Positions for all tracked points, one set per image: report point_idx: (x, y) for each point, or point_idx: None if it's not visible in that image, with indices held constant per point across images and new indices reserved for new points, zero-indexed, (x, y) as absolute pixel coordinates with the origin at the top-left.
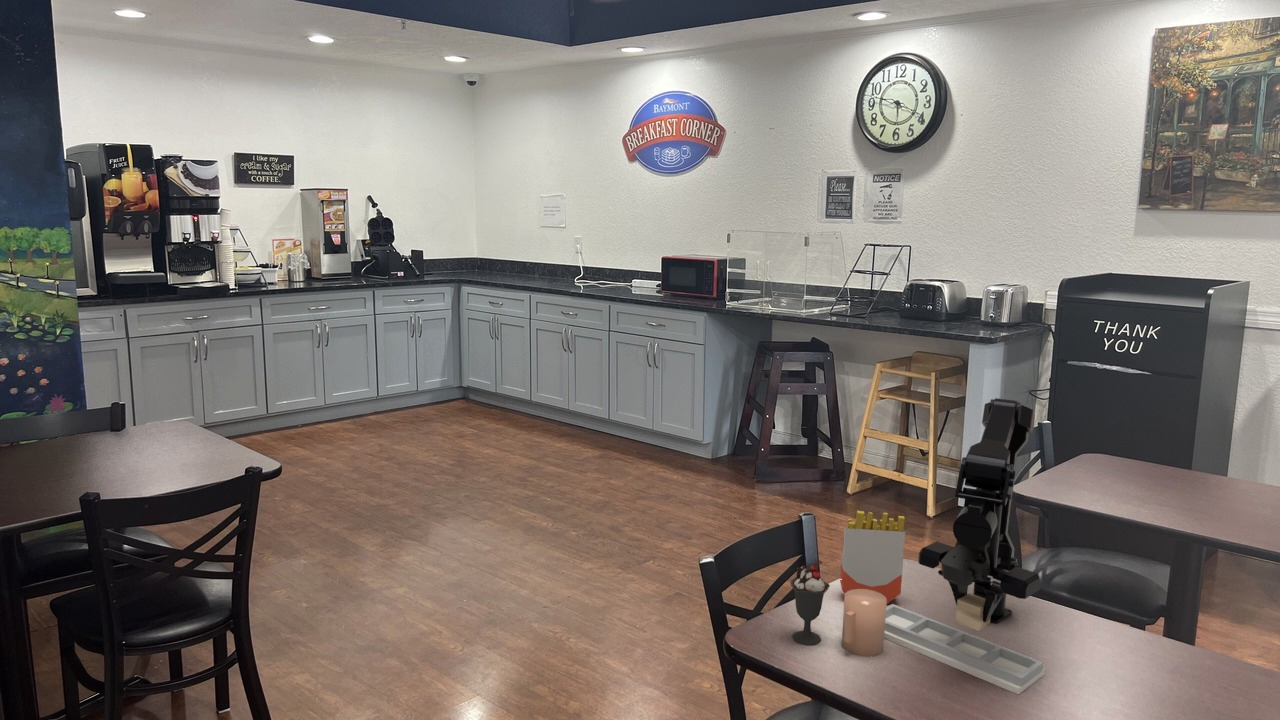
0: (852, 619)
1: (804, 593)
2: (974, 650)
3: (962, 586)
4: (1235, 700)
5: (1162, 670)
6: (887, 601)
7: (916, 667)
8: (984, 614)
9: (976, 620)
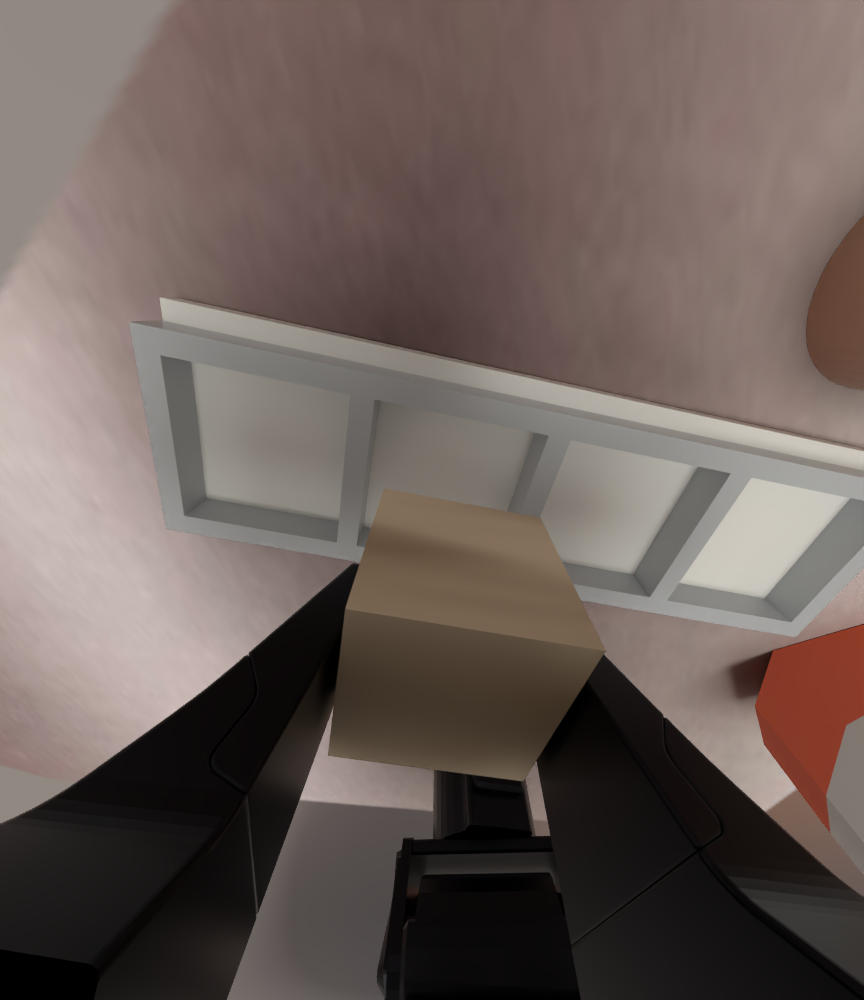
0: None
1: None
2: None
3: (613, 849)
4: None
5: (40, 691)
6: (776, 664)
7: (635, 240)
8: (343, 597)
9: (393, 527)
